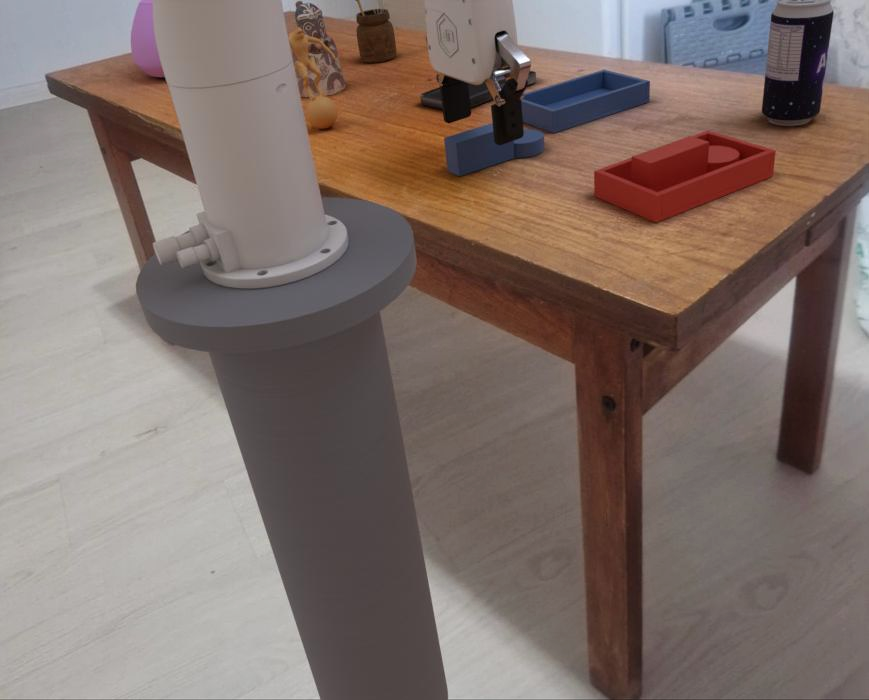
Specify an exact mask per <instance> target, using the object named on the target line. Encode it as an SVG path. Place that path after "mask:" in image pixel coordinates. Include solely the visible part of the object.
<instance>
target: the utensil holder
mask: <svg viewBox="0 0 869 700" xmlns="http://www.w3.org/2000/svg"><path fill="white" fill-rule="evenodd" d="M355 2H357V6H358V8H359V11H360V12H358V13H356V18H355V19H356V20H355V21H356V23H357V24H358V25H357V27H356V39H357V47H358V52H359V57H360V60H361V61H362V62H363V63H366V64H368V63H369V64H375V63H376V64H378V63H383V62H387V61H390V60H393V59H395V58H396V57H397V44H396V37H395V36H396V35H395V30H394V26H393V24H392V22H391V20H390V18H391V16H390V12H389V10H388V9H387V8H386V4H387V2H384V1H382V2H381V5H383V8H382V7H380V8H379V6H378V4H379V3H376V5H377V6H375V4H373V3H374V0H371V3H370V4H371V5H370V6H372V7H371V9H367V10H363V7H362V4H361V1H360V0H355ZM383 3H384V4H383Z"/></svg>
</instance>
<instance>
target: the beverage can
mask: <svg viewBox="0 0 869 700" xmlns="http://www.w3.org/2000/svg"><path fill="white" fill-rule="evenodd" d="M831 1H832V0H776V5H775V7H774V9H773V10H772V12H771V14H770V26H769V33H768V34H769V35H768V44H767V54H766V64H765V74H764V83H763V91H762V92H763V94H762V103H761V114H762V115H763V116H764V117H765V118H766V119H767V120H768V122H769V123H771V124H772V125H776V126H782V127H797V126H803V125H806V124H808V123H809V122H811V120H812V119H813V118H815V117H816V116H817V115H819V114H820V113H821V105H822V98H823V92H824V85H825V79H826V70H827V63H828V56H829V49H830V41H831V34H832V28H833V20H834V14H835V13H834V9H833V6H832V4H831Z"/></svg>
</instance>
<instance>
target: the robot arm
mask: <svg viewBox="0 0 869 700" xmlns="http://www.w3.org/2000/svg"><path fill="white" fill-rule="evenodd" d="M424 18H425V31H426V36H425V40H426V45H427V50H428V57H429V64H430V66H431V67H432V69H433V70H434V71H435V72H436V74H435V80H436V83H437V84H438V85H439V87H440V94H441V102H442V109H443V110H442V109H441V110H442V116H443V122H445V123H447V124H452V123H455V122H458V121H461V120H464V119H467V118H470V117H471V115H472V107H471V105H470V97H469V88H468V83H470V84H473V85H479V84H482V83H483V82H484V81H485V83H486V85H487V87H488V89H489V91H490V93H491V95H492V97H493V99H492V100H493V102H494V104H491V105H490V110H491V111H490V112H491V120H492V122H491V123H493V133H494V142H495V144H497V145H503V144H506V143H509V142H511V141H514V140H517V139H520V138H522V137H523V135H524V130H525V128H524V122H523V116H522V103H521V99H523V98H524V93H525V91H526V89H527V88H528V86H529V85H528V80H527V79H528V76H529V72H530V71H531V67H532V62H531V59H530V58H529V57H528V55H526V53H524V52H523V50H522V49H521V48H520V47H519V45H518V43H519V42H518V34H517V33H518V32H517V24H516V17H515V10H514V3H513V0H424ZM153 22H154V32H155V39H156V44H157V49H158V54H159V57H160V61H161V65H162V68H163V72H164V75H165V77H164V78H165V82H166V83H167V88H168V90H169V94H170V97H171V100H172V104H173V107H174V110H175V111H174V112H175V114H176V118H177V121H178V125H179V128H180V131H181V136H182V138H183V143H184V146H185V149H186V152H187V156H188V159H189V162H190V166H191V169H192V172H193V176H194V179H195V182H196V186H197V189H198V193H199V197H200V200H201V203H202V207H203V211H202V212H198V213H196V218H197V221H198V224H197V225H193V226H190V227H189V229H188V231H189V233H186V234H183V233H182V234H183V235H182V234H179V235H176V236H175V235H174V236H169V237H166V238H164V239H163V238H162V239H160V240H157V241H154V242H152V248H153V251H154V254H155V253H156V256H157V258H158V260H159V263H160V264H161V265H164V264H167V263H170V262H173V261H176V260H179V263H180V265H181V267H182V268H185V267H188V266H191V265H194V264H197V263H198V262H200V264H201V267H202V270H203V273H204V275H205V276H206V277H207V278H208V279H209V280H210V281H212V282H214V283H216V284H218V285H222V286H225V287H230V288H238V289H258V288H269V287H274V286H280V285H285V284H288V283H292V282H296V281H299V280H302V279H305V278H307V277H310V276H312V275H314V274H317V273H319V272H321V271H323V270H324V269H326V268H328V267H329V266H331V265H332V264H334V263H335V262H336V261H337V260H338V259H340V257H341V256H342V255H343V254H344V252H345V251H346V249H347V247H348V244H349V241H348V234H347V230H346V227H345V226H344V224H343V223H342V222H341V221H339V220H337V219H336V218H334V217H331V216H328V215H325V213H324V208H323V204H322V199H321V197H322V194H321V189H320V185H319V180H318V175H317V169H316V165H315V160H314V157H313V156H314V155H313V151H312V146H311V142H310V141H311V140H310V135H309V132H308V131H309V130H308V126H307V121H306V118H305V117H306V115H305V112H304V108H303V107H304V106H303V103H302V97H300V92H299V87H298V82H297V78H296V73H295V68H294V63H293V58H292V49H291V47H290V44H289V39H288V36H289V34H288V28H287V24H286V19H285V13H284V6H283V0H153ZM493 70H494V72H492V71H493ZM505 78H506V81H507V82H506V83H505V85H504V87H503V88H502V90H501V88H500V86H499V84H498V82H497V81H499V80H502V79H505ZM439 87H438V88H439Z"/></svg>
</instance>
